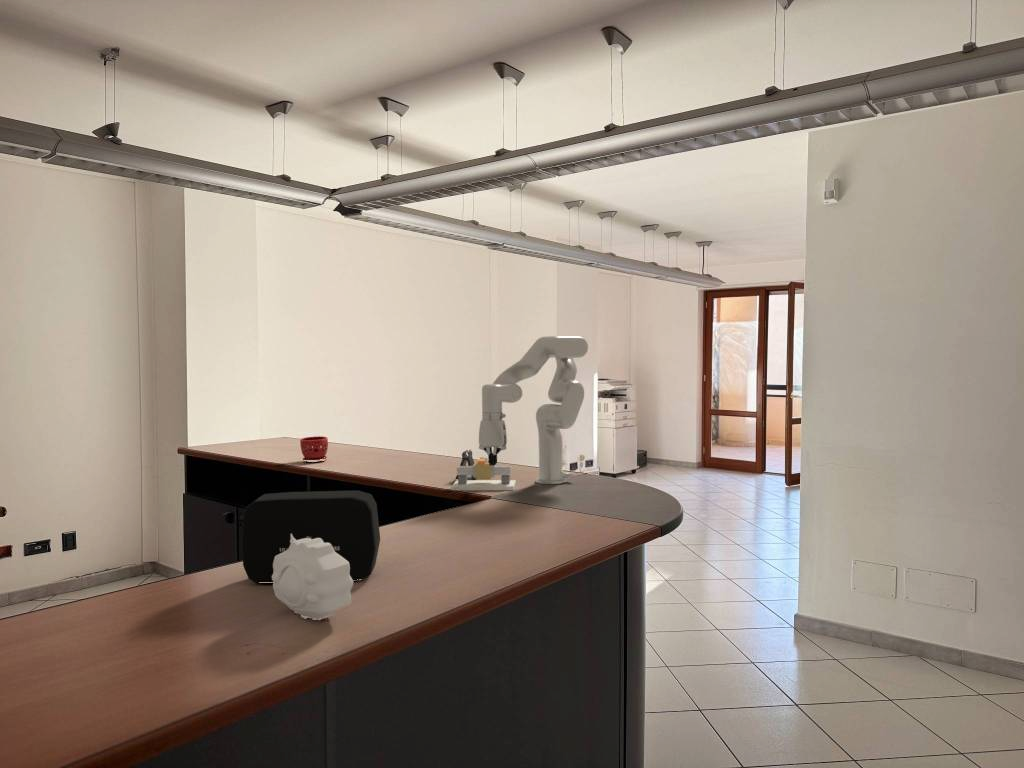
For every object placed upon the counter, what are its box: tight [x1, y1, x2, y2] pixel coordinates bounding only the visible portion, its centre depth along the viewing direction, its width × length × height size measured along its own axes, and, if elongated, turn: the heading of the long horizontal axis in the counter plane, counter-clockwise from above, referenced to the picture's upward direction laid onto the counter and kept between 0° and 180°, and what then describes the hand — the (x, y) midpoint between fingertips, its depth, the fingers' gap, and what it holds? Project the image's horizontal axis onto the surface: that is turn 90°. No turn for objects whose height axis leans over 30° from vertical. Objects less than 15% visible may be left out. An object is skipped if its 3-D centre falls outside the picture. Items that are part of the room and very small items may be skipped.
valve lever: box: [476, 456, 488, 466], centre depth 273 cm, size 12×3×2 cm, turn 176°
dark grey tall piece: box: [455, 449, 476, 480], centre depth 296 cm, size 9×6×12 cm, turn 79°
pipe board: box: [451, 475, 517, 491], centre depth 278 cm, size 24×13×5 cm, turn 86°
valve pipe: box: [456, 461, 512, 480], centre depth 278 cm, size 21×6×7 cm, turn 86°
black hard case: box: [241, 489, 381, 584], centre depth 168 cm, size 30×12×20 cm, turn 93°
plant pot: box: [299, 435, 329, 461], centre depth 351 cm, size 13×13×12 cm
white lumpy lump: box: [272, 534, 354, 619], centre depth 142 cm, size 11×18×16 cm, turn 52°
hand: (492, 464), depth 268 cm, fingers closed
